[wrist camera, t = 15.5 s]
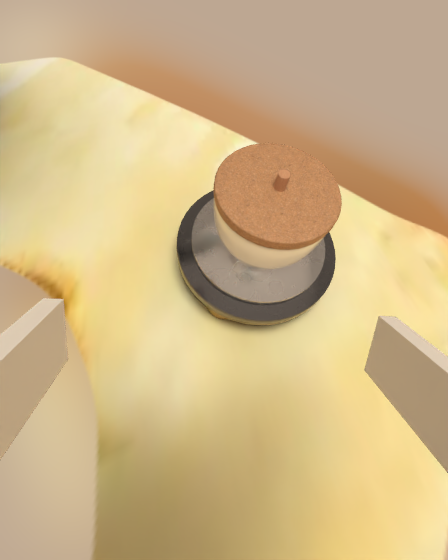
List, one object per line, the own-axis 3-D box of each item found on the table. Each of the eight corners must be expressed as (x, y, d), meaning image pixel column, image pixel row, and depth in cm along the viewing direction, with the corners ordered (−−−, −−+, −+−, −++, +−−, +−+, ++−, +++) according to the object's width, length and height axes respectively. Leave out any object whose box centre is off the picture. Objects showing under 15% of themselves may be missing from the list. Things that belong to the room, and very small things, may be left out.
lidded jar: (197, 273, 31) (202, 211, 23) (219, 190, 36) (229, 114, 28) (306, 297, 31) (350, 244, 23) (313, 211, 36) (352, 142, 28)
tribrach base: (170, 328, 34) (168, 310, 29) (184, 199, 41) (184, 170, 37) (329, 337, 35) (350, 322, 31) (314, 211, 43) (329, 184, 38)
